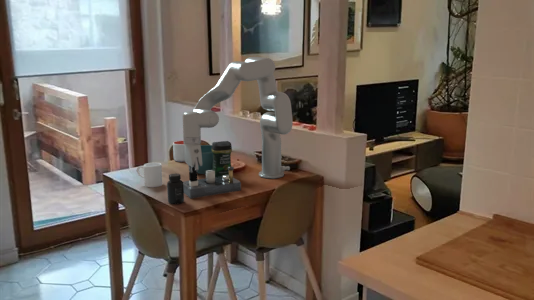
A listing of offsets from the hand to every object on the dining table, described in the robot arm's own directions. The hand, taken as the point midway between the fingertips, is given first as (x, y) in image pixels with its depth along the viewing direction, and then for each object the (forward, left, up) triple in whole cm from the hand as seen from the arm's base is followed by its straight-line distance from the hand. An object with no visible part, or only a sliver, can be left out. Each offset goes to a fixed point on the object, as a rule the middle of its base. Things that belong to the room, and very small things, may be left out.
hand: (193, 180), depth 232 cm
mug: (+14, -22, -6) cm, 27 cm away
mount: (-8, 0, -6) cm, 10 cm away
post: (-16, +4, -2) cm, 17 cm away
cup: (-15, -59, -6) cm, 61 cm away
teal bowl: (-17, -30, -6) cm, 35 cm away
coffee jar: (-20, -15, -6) cm, 26 cm away
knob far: (0, 0, -5) cm, 5 cm away
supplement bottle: (+11, +8, -6) cm, 15 cm away
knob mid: (-8, 0, -2) cm, 8 cm away
